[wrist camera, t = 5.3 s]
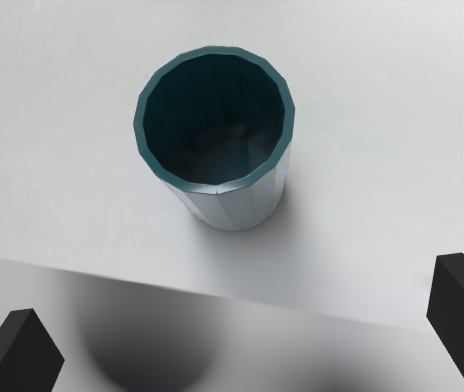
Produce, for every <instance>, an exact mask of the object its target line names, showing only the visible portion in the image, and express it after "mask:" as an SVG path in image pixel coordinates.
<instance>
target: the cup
mask: <svg viewBox="0 0 464 392" xmlns="http://www.w3.org/2000/svg"><path fill="white" fill-rule="evenodd" d="M294 116H295V106H294V103H293V100H292V97H291V94H290V91H289V88H288V86H287V83H286V81H285V79H284V78H283V77H282V76H281V75H280V74H279V73H278V72H277V71H276V70H275V69H274V68H273V67H272V65H271V64H270V63H269V62H268V61H267V60H265V59H264V58H262V57H259V56H257V55H255V54H253V53H251V52H248V51H246V50H244V49H242V48H238V47H226V46H205V47H202V48H198V49H195V50H192V51H188V52H185V53H181V54H179V55H178V56H176V57H175V58H174V59H172V60H171V61H169V62H168V63H167V64H165V65H164V66H162V67H161V68H160V69H158V70H157V71H156V72H155V73H154V74H153V76H152V77H151V79H150V80H149V82H148V83H147V85H146V86H145V88H144V89H143V91H142V92H141V94H140V96H139V99H138V103H137V108H136V113H135V117H134V122H133V127H134V132H135V136H136V141H137V146H138V151H139V153H140V155H141V156H142V158H143V159H144V160H145V162H146V163H147V164H148V166H149V167H150V168H151V170H152V171H153V172H154V174H155V175H156V176H157V177H158V178H159V179H160V180H161V181H162V182H163V183H164V184H165V185H166V186H167V187H168V188H169V189H170V190H171V191H172V192H173V193H174V194H175V195H176V196H177V197H178V198H179V199H180V200H181V201H182V202H183V203H184V204H185V205H186V206H187V207H188V208H189V209H190V210H191V211H192V212H193V213H194V214H195V215H196V216H197V217H198V218H199V219H200V220H202V221H203V222H205V223H206V224H208V225H209V226H211V227H213V228H216V229H219V230H223V231H232V232H235V231H243V230H247V229H250V228H253V227H255V226H257V225H259V224H261V223H262V222H263V221H265V220H266V219H267V218H268V217H269V216H270V215H271V214H272V213H273V212H274V210H275V209H276V207H277V205H278V203H279V201H280V199H281V197H282V194H283V188H284V182H285V176H286V171H287V165H288V159H289V153H290V148H291V142H292V135H293V126H294Z"/></svg>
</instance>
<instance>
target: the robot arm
mask: <svg viewBox="0 0 464 392" xmlns="http://www.w3.org/2000/svg"><path fill="white" fill-rule="evenodd" d="M426 317H427V318H428V320H429V322H430V323H431V325H432V327H433V328H434V330H435V331H436V333H437V335H438V336H439V338H440V340H441V341H442V343H443V345H444V346H445V348H446V349H447V351H448V353H449V354H450V356H451V358H452V359H453V361H454V362H455V364H456V366H457V368H458V369H459V371H460V372H461V374H462V376H463V377H464V254H463V253H454V254H447V255H439V256H437V257H436V263H435V269H434V275H433V281H432V287H431V292H430V298H429V304H428V310H427V316H426ZM64 361H65V360H64V358H63V356H62V355H61V353H60V351H59V350H58V348H57V347H56V345H55V343H54V342H53V340H52V338H51V337H50V335H49V334H48V332H47V330H46V329H45V327H44V326H43V324H42V323H41V321H40V319H39V318H38V316H37V314H36V313H35V311H34V310H33V308H32V309H24V310H16V311H11V312H10V313H9V315H8V316H7V318H6V319H5V321H4V322H3V324H2V325H1V327H0V392H52V389H53V387H54V384H55V382H56V380H57V377H58V375H59V372H60V370H61V368H62V365H63V363H64Z"/></svg>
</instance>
